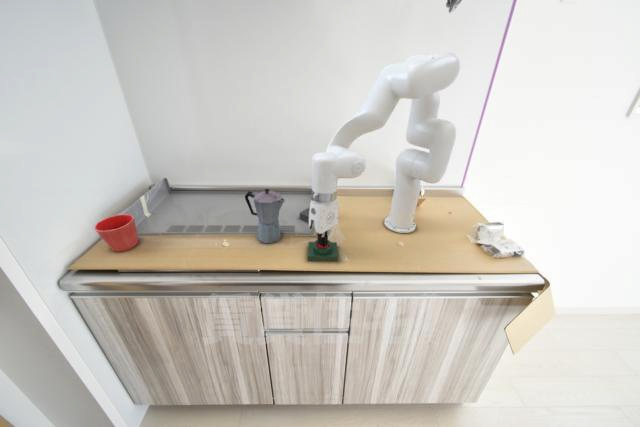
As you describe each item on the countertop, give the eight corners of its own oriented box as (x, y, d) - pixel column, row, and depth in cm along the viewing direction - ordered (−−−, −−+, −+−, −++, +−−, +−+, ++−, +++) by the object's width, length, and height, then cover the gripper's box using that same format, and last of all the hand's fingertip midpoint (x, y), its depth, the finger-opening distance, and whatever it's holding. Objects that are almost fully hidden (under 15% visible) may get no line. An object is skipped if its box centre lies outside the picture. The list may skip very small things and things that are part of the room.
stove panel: (317, 208, 112) (317, 202, 111) (334, 216, 107) (335, 209, 105) (299, 218, 104) (299, 212, 103) (317, 226, 99) (317, 220, 97)
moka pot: (283, 247, 86) (279, 196, 76) (243, 241, 89) (235, 192, 79) (291, 232, 94) (289, 185, 85) (254, 228, 97) (248, 181, 87)
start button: (327, 245, 84) (328, 241, 83) (328, 251, 80) (328, 247, 80) (317, 245, 84) (317, 240, 83) (317, 251, 80) (317, 247, 80)
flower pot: (101, 257, 80) (88, 233, 75) (112, 239, 88) (101, 216, 84) (139, 250, 83) (128, 227, 78) (146, 234, 92) (137, 211, 87)
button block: (336, 247, 87) (337, 238, 85) (337, 261, 80) (338, 252, 78) (308, 246, 87) (308, 237, 85) (307, 261, 80) (307, 251, 78)
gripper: (317, 207, 65) (316, 259, 74) (348, 190, 75) (344, 239, 84) (297, 198, 69) (298, 249, 78) (329, 184, 79) (327, 231, 88)
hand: (322, 244), depth 81 cm, fingers closed
